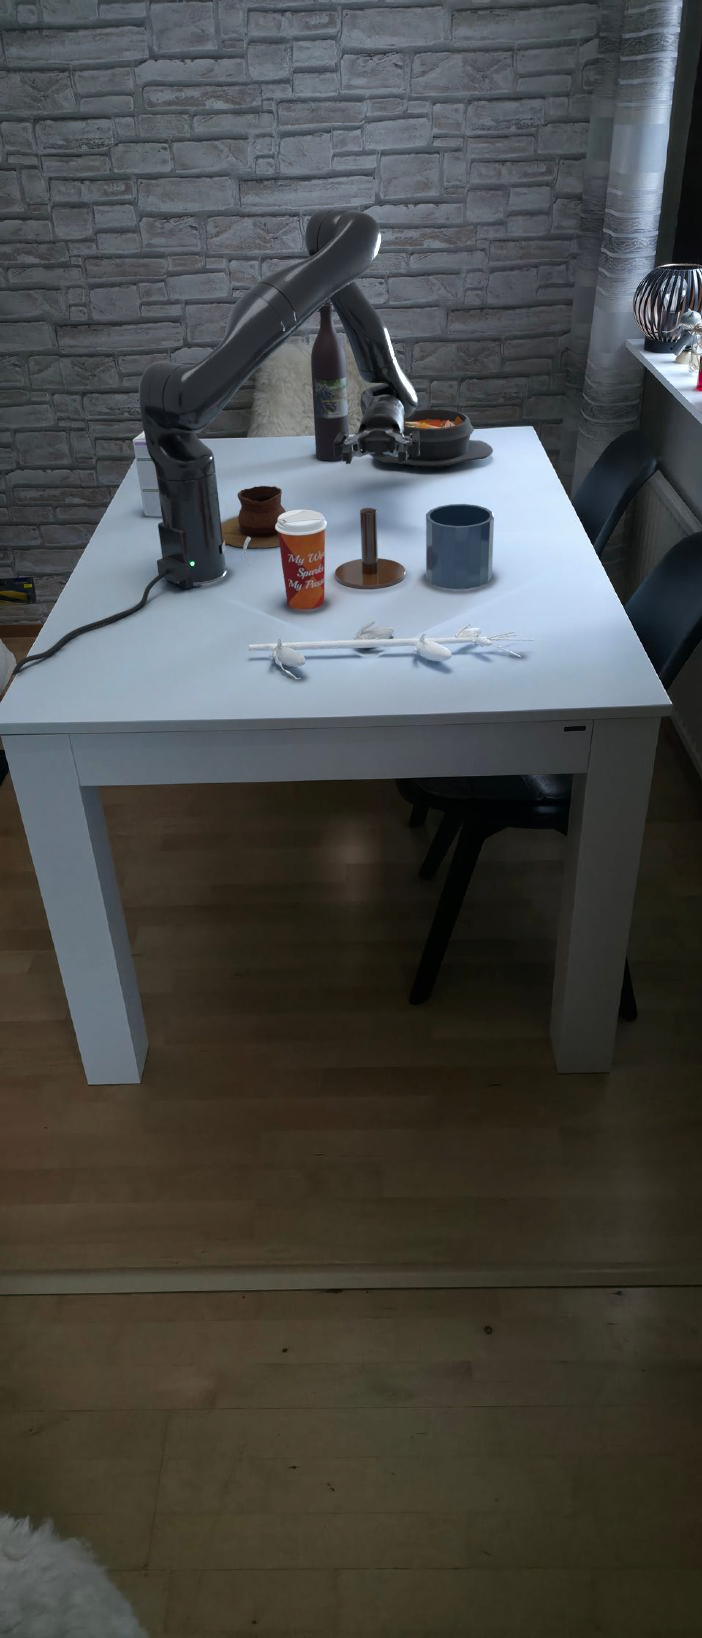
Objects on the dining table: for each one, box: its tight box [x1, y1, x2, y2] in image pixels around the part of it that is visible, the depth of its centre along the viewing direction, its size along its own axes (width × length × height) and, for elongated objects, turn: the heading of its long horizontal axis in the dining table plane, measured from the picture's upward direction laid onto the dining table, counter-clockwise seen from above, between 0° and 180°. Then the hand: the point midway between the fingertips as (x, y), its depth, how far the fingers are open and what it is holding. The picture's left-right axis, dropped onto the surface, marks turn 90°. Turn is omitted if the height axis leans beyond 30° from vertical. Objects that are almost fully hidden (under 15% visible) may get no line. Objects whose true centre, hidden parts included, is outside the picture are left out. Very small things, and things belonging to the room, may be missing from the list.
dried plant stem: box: [243, 537, 535, 680], centre depth 154 cm, size 12×19×40 cm
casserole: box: [371, 409, 494, 469], centre depth 228 cm, size 25×19×8 cm
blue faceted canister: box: [425, 503, 495, 590], centre depth 177 cm, size 10×10×10 cm
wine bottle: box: [310, 300, 350, 462], centre depth 227 cm, size 7×7×30 cm
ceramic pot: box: [221, 485, 287, 549], centre depth 199 cm, size 18×18×7 cm
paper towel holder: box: [334, 507, 407, 590], centre depth 178 cm, size 11×11×11 cm
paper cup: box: [275, 509, 328, 611], centre depth 169 cm, size 8×8×14 cm
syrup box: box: [132, 430, 162, 518], centre depth 207 cm, size 6×6×14 cm
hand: (374, 457), depth 181 cm, fingers open, 8 cm apart
